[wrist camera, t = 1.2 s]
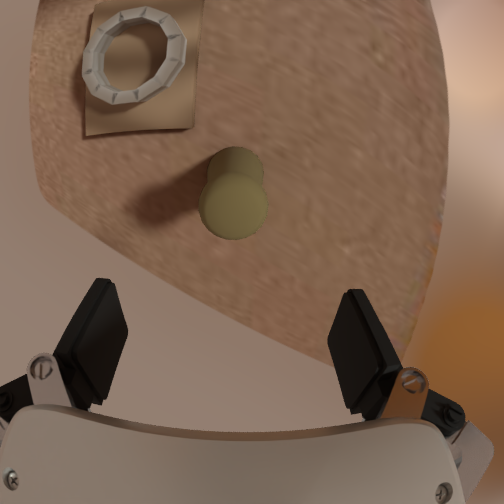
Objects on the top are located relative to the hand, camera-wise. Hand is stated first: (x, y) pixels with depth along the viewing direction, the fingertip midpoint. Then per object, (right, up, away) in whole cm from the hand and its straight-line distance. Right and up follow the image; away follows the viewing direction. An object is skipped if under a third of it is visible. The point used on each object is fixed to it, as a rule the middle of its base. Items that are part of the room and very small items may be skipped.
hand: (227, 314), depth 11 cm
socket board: (-10, +22, +10) cm, 26 cm away
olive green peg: (-1, +11, +18) cm, 21 cm away
